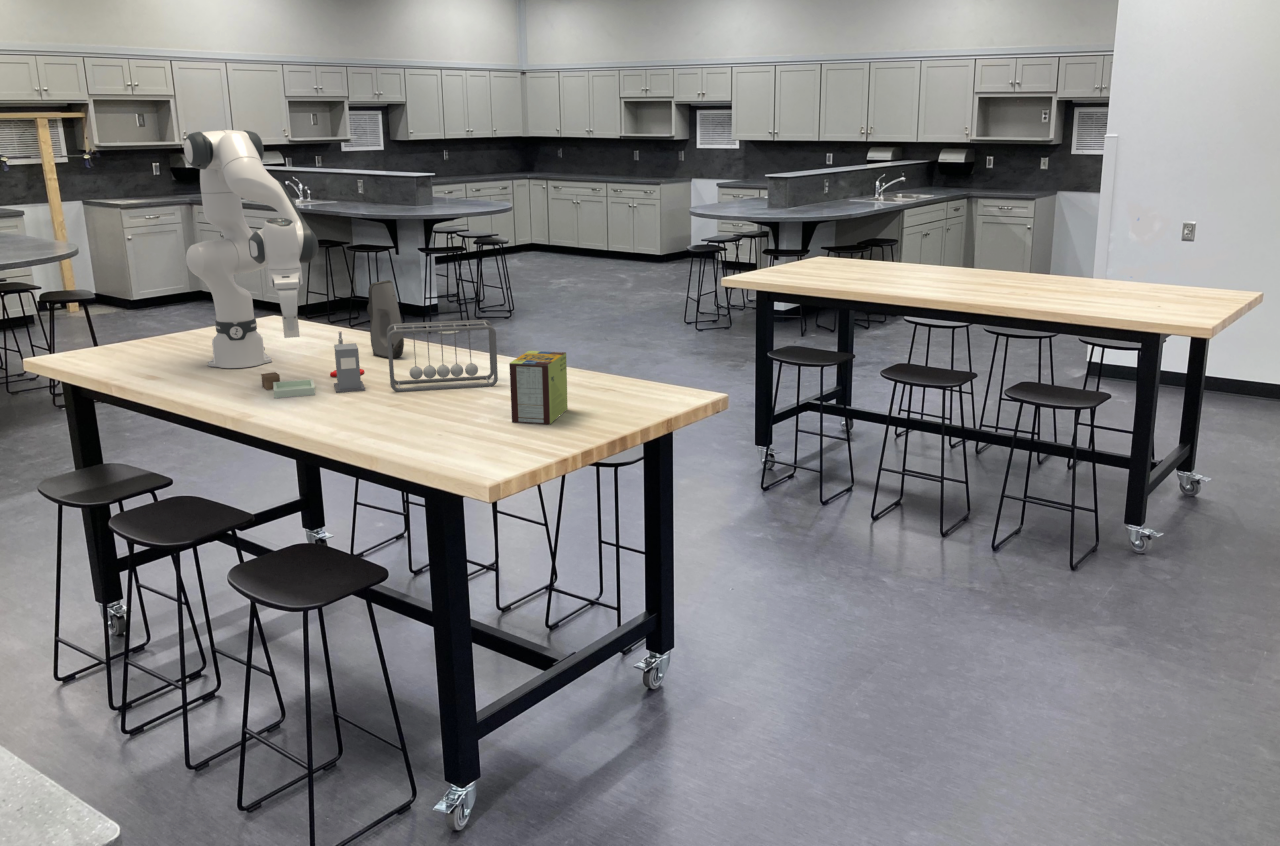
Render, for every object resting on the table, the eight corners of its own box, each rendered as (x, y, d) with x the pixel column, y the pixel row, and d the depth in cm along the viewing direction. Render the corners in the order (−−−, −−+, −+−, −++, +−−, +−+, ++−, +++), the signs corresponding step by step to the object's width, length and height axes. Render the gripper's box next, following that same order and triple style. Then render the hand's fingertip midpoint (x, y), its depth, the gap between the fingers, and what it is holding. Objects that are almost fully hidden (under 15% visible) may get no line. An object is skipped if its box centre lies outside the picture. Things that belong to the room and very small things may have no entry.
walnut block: (262, 387, 302) (261, 373, 301) (276, 385, 304) (275, 372, 303) (266, 390, 299) (265, 376, 297) (280, 388, 301) (279, 374, 300)
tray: (273, 389, 299) (273, 382, 298) (313, 386, 302) (312, 379, 302) (274, 398, 289) (273, 390, 289) (315, 394, 293) (314, 387, 292)
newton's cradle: (494, 378, 312) (491, 319, 307) (498, 386, 302) (495, 325, 297) (390, 384, 305) (386, 323, 300) (391, 393, 295) (386, 330, 290)
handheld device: (385, 352, 348) (380, 276, 341) (412, 358, 338) (407, 281, 331) (369, 354, 344) (363, 278, 337) (395, 361, 334) (390, 283, 327)
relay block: (284, 335, 293) (281, 314, 292) (299, 334, 295) (296, 313, 293) (284, 338, 290) (282, 316, 288) (299, 336, 291) (297, 315, 289)
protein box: (568, 409, 277) (566, 351, 273) (550, 425, 262) (548, 364, 258) (530, 407, 279) (528, 350, 275) (510, 422, 265) (508, 362, 260)
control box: (333, 385, 304) (330, 344, 301) (362, 382, 306) (359, 342, 303) (336, 392, 295) (332, 350, 291) (365, 390, 297) (362, 348, 294)
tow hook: (341, 371, 323) (326, 377, 313) (338, 326, 320) (324, 331, 310) (369, 372, 321) (355, 378, 312) (367, 327, 318) (353, 332, 309)
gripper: (272, 275, 296) (278, 323, 300) (274, 283, 278) (279, 335, 281) (296, 273, 298) (301, 322, 302) (299, 282, 280) (304, 333, 283)
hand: (290, 328), depth 291 cm, fingers closed on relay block, 4 cm apart
